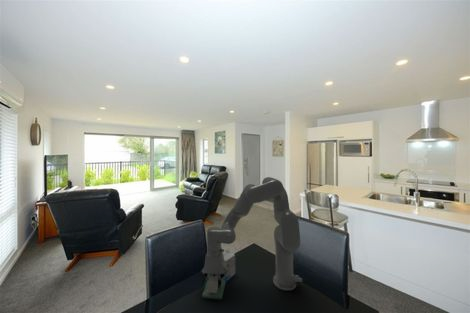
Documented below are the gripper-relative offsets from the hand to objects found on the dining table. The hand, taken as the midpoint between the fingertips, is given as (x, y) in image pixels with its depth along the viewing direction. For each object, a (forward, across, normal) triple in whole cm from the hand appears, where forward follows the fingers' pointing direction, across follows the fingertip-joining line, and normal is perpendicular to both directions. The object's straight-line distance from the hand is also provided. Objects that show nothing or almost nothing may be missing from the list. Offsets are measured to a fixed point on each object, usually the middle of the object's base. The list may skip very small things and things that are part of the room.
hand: (214, 285), depth 91 cm
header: (+2, 0, 0) cm, 2 cm away
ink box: (+3, -4, -12) cm, 13 cm away
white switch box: (+1, 0, 0) cm, 1 cm away
